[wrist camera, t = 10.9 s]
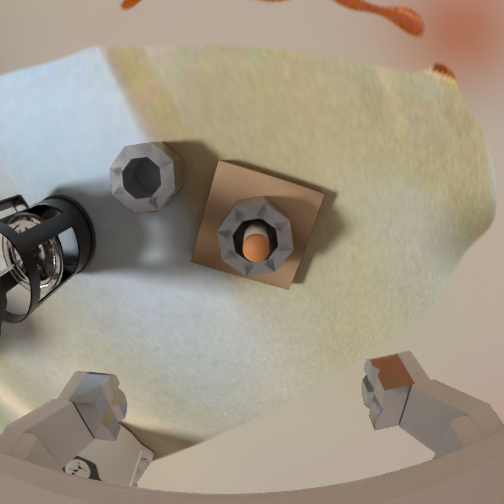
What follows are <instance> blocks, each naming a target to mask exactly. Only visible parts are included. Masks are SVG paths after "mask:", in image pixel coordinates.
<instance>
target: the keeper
mask: <svg viewBox="0 0 504 504" xmlns="http://www.w3.org/2000/svg"><path fill="white" fill-rule="evenodd" d="M258 196H265V197H266V198H268V199H269V200H270V201H272V202H273V203H275V204H276V205H277V206H279V207H280V208H281V209H283V210H284V211H286V213H287V215H288V218H289V220H290V226H291V234H292V242H293V249H294V250H293V251H292V252H291V253H290V255H289V256H288V257H287V258H286V259H285V261H284V262H283V263H282V264H281V266H280V267H279V268H278V269H277V271H276V272H272V273H265V274H259V275H252V276H245V275H244V274H242V273H241V272H239V271H238V270H236V269H235V268H233V267H232V266H230V265H229V264H227V263H226V262H224V261H223V260H222V256H221V252H220V247H219V242H218V236H217V230H218V227H219V225H220V222H221V221H222V219H223V218H224V216H225V215H226V214H227V212H228V211H229V210H230V208H231V207H232V205H233V204H234V203H235V201H236V200H239V199H245V198H252V197H258ZM323 197H324V193H322V192H321V191H318V190H315V189H312V188H309V187H306V186H303V185H300V184H297V183H294V182H291V181H288V180H285V179H282V178H279V177H275V176H272V175H269V174H266V173H263V172H259V171H256V170H253V169H250V168H246V167H243V166H240V165H236V164H233V163H229V162H226V161H222V160H219V161H218V165H217V168H216V172H215V175H214V178H213V182H212V185H211V189H210V192H209V196H208V199H207V203H206V207H205V210H204V214H203V218H202V221H201V225H200V229H199V233H198V236H197V240H196V244H195V248H194V252H193V256H192V260H191V262H193V263H196V264H200V265H203V266H207V267H210V268H213V269H217V270H220V271H224V272H227V273H231V274H234V275H238V276H241V277H245V278H248V279H252V280H255V281H259V282H262V283H266V284H269V285H273V286H276V287H280V288H284V289H287V290H289V289H290V286H291V284H292V281H293V278H294V276H295V273H296V271H297V268H298V265H299V263H300V260H301V257H302V255H303V252H304V249H305V247H306V244H307V241H308V239H309V236H310V233H311V231H312V228H313V225H314V222H315V220H316V217H317V214H318V211H319V209H320V206H321V203H322V200H323ZM236 235H237V240H238V241H240V242H241V243H242V244H243V254H244V256H245V257H246V258H247V259H248V260H250V261H252V262H260V261H263V260H264V259H266V258H267V256H268V255H269V251H270V248H269V242H270V241H271V240H272V238H273V237H274V236H275V235H276V233H275V228H274V227H273V226H271V225H270V224H269V223H267V222H266V221H264V220H263V219H262V218H259V219H252V220H246V221H242V223H241V224H240V225H239V227H238V228H237V229H236Z"/></svg>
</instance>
